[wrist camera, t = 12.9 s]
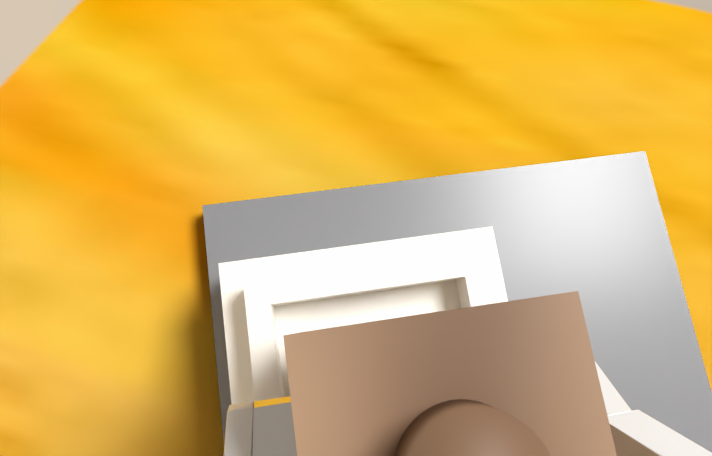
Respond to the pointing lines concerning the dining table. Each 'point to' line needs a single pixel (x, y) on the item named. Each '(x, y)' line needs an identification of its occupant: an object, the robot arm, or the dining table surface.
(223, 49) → the dining table surface
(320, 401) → the walnut pillar
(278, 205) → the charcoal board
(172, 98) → the dining table surface
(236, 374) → the block
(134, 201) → the dining table surface
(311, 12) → the dining table surface
